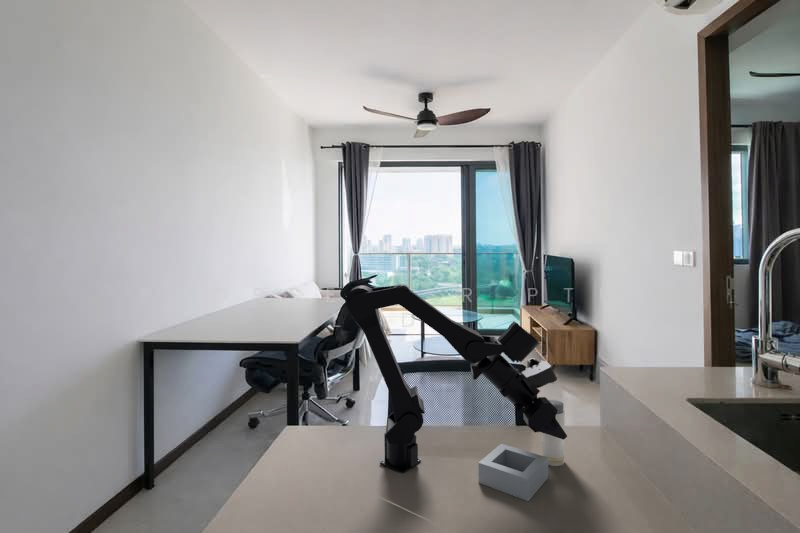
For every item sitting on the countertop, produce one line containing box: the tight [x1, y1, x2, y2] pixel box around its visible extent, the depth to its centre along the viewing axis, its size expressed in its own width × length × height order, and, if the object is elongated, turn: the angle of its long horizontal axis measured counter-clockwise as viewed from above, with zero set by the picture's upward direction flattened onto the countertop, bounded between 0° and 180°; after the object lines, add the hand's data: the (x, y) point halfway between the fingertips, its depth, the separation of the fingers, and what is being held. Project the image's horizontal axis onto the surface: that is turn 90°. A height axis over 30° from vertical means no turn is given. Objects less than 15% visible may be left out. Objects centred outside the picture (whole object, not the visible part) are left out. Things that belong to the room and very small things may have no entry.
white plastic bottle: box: [541, 399, 565, 467], centre depth 91 cm, size 4×4×12 cm
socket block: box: [478, 443, 549, 502], centre depth 84 cm, size 10×10×4 cm
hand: (557, 427), depth 91 cm, fingers open, 9 cm apart
